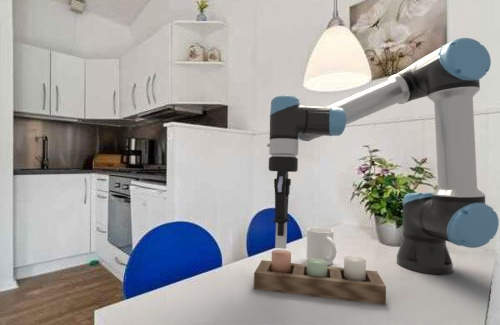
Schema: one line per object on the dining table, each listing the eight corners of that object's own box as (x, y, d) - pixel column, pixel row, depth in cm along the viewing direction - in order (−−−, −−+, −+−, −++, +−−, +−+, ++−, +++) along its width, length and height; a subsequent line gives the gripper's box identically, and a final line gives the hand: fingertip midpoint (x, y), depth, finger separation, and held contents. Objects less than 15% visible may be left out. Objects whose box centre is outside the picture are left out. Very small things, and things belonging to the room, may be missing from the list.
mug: (346, 268, 87) (346, 234, 87) (322, 271, 84) (323, 236, 84) (323, 256, 98) (323, 226, 98) (301, 259, 95) (302, 227, 95)
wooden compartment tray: (376, 287, 73) (376, 271, 73) (385, 304, 64) (386, 286, 64) (261, 274, 80) (261, 260, 80) (253, 288, 70) (254, 272, 70)
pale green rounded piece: (326, 276, 74) (326, 259, 74) (327, 284, 69) (327, 265, 69) (306, 274, 75) (307, 257, 75) (306, 281, 70) (306, 263, 70)
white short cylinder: (363, 274, 72) (364, 257, 72) (367, 282, 67) (367, 263, 67) (342, 272, 73) (343, 255, 73) (344, 280, 68) (345, 261, 68)
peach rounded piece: (291, 267, 76) (291, 250, 76) (289, 274, 71) (290, 256, 71) (272, 265, 77) (273, 249, 77) (269, 272, 72) (270, 254, 72)
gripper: (272, 157, 82) (270, 240, 81) (264, 154, 69) (261, 253, 69) (299, 157, 80) (297, 242, 80) (296, 155, 67) (293, 256, 67)
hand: (280, 247), depth 74 cm, fingers closed
